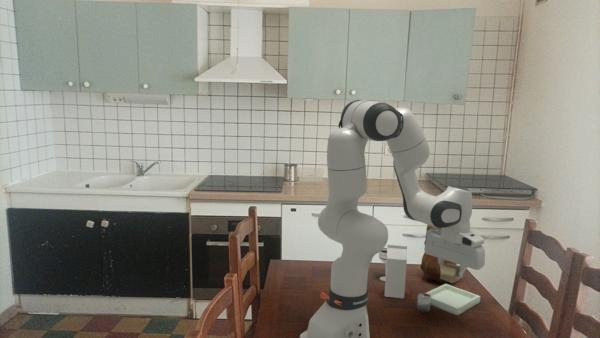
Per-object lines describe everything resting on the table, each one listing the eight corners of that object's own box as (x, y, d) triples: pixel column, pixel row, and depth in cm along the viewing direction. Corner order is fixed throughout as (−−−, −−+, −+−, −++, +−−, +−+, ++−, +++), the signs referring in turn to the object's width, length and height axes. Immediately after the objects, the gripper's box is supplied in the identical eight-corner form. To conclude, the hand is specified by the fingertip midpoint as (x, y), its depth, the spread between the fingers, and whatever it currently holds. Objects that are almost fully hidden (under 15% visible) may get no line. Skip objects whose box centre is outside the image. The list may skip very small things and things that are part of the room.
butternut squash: (451, 275, 184) (455, 217, 181) (459, 288, 171) (464, 226, 167) (417, 272, 186) (421, 215, 182) (423, 285, 173) (427, 224, 169)
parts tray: (457, 315, 149) (457, 308, 148) (421, 301, 159) (422, 294, 159) (479, 302, 159) (480, 296, 159) (445, 289, 169) (445, 283, 169)
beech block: (452, 282, 143) (453, 269, 142) (440, 278, 146) (441, 265, 146) (459, 279, 146) (460, 267, 145) (447, 275, 149) (448, 263, 149)
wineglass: (393, 276, 181) (395, 248, 180) (394, 282, 175) (396, 254, 173) (377, 274, 182) (378, 247, 180) (377, 281, 176) (379, 252, 174)
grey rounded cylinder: (425, 313, 150) (426, 299, 149) (414, 308, 153) (415, 295, 152) (432, 309, 153) (433, 296, 152) (421, 305, 156) (422, 291, 155)
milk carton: (404, 299, 160) (407, 249, 157) (384, 296, 162) (387, 247, 159) (403, 291, 167) (406, 243, 164) (384, 289, 169) (387, 241, 166)
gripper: (422, 228, 150) (419, 266, 152) (479, 243, 135) (475, 286, 137) (432, 225, 154) (429, 263, 156) (489, 240, 139) (484, 281, 141)
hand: (451, 274), depth 146 cm, fingers closed on beech block, 4 cm apart
